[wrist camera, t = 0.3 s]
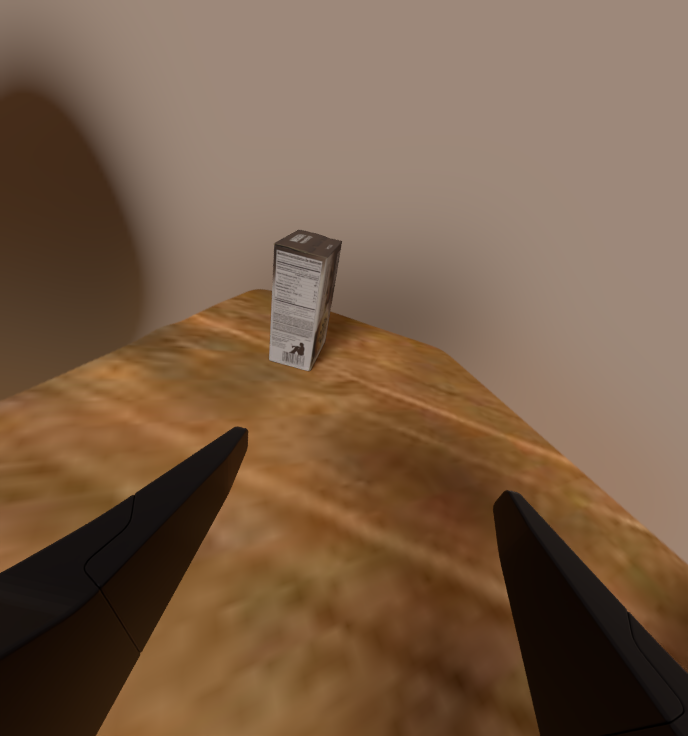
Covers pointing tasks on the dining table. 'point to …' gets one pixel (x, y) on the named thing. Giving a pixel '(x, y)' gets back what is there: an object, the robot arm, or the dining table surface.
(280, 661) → the dining table surface
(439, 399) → the dining table surface
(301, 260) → the coffee box
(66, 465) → the dining table surface
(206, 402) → the dining table surface
